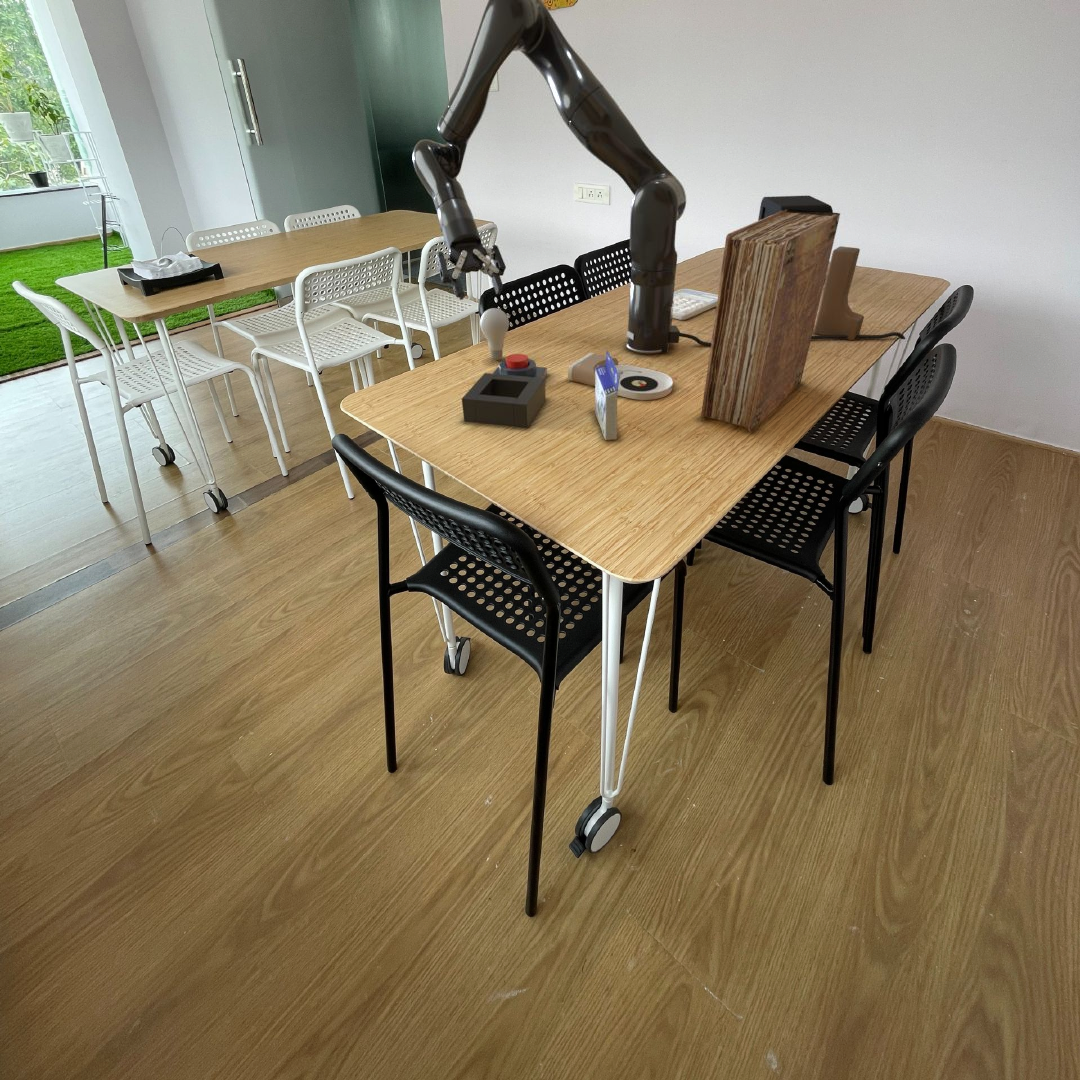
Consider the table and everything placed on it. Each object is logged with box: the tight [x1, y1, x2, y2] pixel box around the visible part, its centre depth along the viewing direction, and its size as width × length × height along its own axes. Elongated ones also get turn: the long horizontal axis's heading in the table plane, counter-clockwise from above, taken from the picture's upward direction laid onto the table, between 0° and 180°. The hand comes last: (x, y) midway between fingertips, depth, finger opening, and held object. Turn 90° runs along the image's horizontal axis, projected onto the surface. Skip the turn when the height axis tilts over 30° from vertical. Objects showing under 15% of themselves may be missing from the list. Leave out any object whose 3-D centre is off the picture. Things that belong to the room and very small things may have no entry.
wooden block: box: [813, 246, 865, 341], centre depth 137 cm, size 9×4×18 cm, turn 52°
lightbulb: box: [479, 307, 510, 361], centre depth 132 cm, size 6×6×11 cm
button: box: [505, 353, 529, 369], centre depth 123 cm, size 4×4×2 cm
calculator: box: [672, 288, 718, 321], centre depth 161 cm, size 13×20×2 cm, turn 136°
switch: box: [491, 358, 548, 379], centre depth 125 cm, size 10×8×4 cm
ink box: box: [594, 350, 620, 441], centre depth 105 cm, size 12×2×12 cm, turn 5°
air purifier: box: [757, 195, 834, 221], centre depth 177 cm, size 20×15×20 cm
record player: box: [567, 352, 674, 401], centre depth 122 cm, size 12×3×20 cm
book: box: [700, 209, 841, 433], centre depth 106 cm, size 25×9×30 cm, turn 143°
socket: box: [461, 372, 547, 429], centre depth 113 cm, size 12×12×4 cm
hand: (481, 295), depth 134 cm, fingers open, 8 cm apart
